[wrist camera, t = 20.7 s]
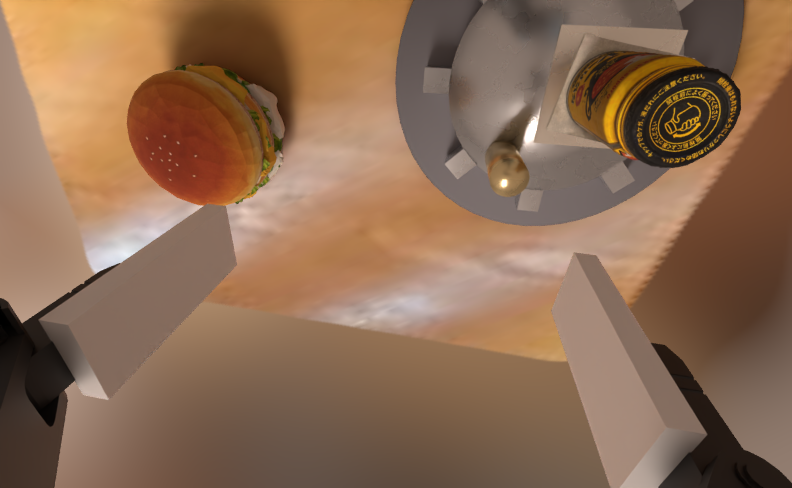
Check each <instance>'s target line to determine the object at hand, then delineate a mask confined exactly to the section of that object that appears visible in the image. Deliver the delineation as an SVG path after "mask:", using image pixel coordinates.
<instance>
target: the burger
mask: <svg viewBox="0 0 792 488" xmlns="http://www.w3.org/2000/svg"><path fill="white" fill-rule="evenodd" d="M277 102H278V101H277V98H276V96H275V95H274V94H273V93H271V92H269V91H267V90H265V89H264V88H262V87H261V86H258V85H256V84H255V83H254V84H250V83H249V82H247V81H246V80H244V79H243V78H241V77H239V76H238V75H237V74H236V73H234V72H233V71H231V70H228V69H225V68H220V67H218V66H204V65H203V63H200V64H199V65H196V64H195V65H194V66H192V65H191V64H189V65H187V66H185V65H182V67H176V69H175V70H170V71H166V72H163V73H159V74H156V75H153V76H152V77H150V78H149V79H147V80H146V81H144V82H143V83H142V84H141V85H140V86H139V88H138V89H137V90H136V91H135V93H134V95H133V97H132V99H131V102H130V105H129V109H128V116H127V128H128V134H129V139H130V142H131V145H132V148H133V150H134V153H135V155H136V157H137V159H138V161H139V163H140V164H141V165H142V167H143V168H144V169H145V171H146V172H147V173H148V175H149V176H150V177H151V178H152V179H153V180H154V181H155V182H156V183H157V184H158V185H159V186H161V187H162V188H164V189H165V190H167V191H168V192H170V193H171V194H173V195H174V196H176V197H177V198H180V199H182V200H185V201H188V202H191V203H194V204H197V205H203V206H205V205H206V204H213V205H220V206H225V205H228V204H231V203H236V204H238V203H239V202H242V201H243V199H246V198H250V197H253V195H255V194H256V191H257V190H258V189H259V188H260V187H263V186H264V185H266V184H268V183H269V181H270V180H271V178H272V177H273V176H274V174H276V171H277V170H278V168H279V167H280V166H281V165H282V164H283V154H281V153H280V151H281V149H282V138H283V137H284V132H285V127H284V124H283V120H282V118H281V116H280V114H279V112H278V109H277V106H276V105H277Z"/></svg>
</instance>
